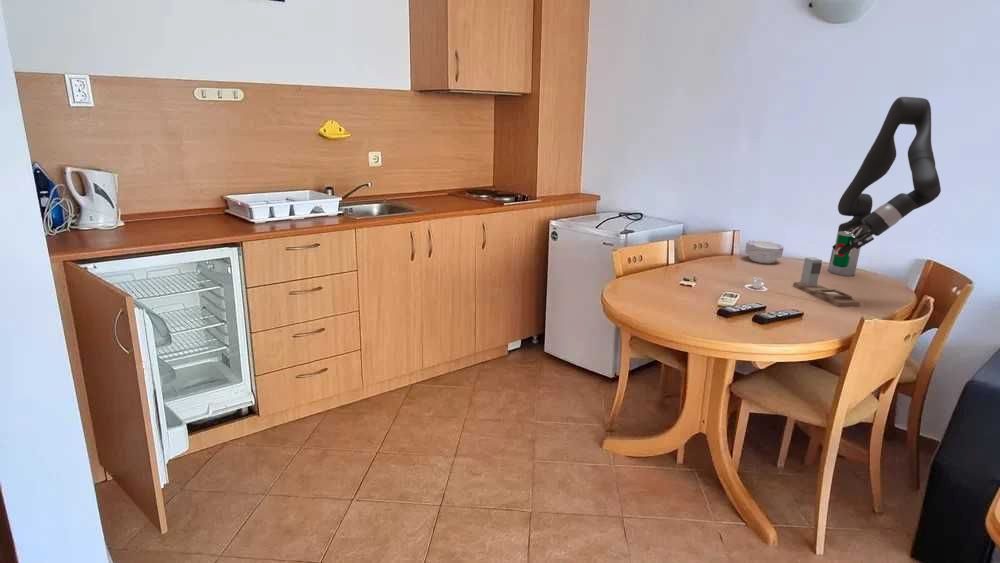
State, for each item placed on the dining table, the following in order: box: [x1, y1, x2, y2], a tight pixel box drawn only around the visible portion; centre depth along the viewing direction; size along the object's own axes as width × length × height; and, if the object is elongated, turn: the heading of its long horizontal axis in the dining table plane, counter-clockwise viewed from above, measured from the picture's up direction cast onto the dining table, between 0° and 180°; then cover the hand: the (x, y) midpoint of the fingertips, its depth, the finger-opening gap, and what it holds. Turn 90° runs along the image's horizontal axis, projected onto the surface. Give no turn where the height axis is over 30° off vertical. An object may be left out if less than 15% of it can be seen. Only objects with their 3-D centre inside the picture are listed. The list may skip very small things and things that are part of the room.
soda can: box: [832, 231, 854, 267], centre depth 207 cm, size 5×5×12 cm
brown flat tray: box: [792, 281, 861, 308], centre depth 216 cm, size 24×8×2 cm, turn 11°
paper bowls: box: [744, 239, 784, 264], centre depth 263 cm, size 15×15×8 cm
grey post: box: [799, 256, 823, 286], centre depth 223 cm, size 5×4×10 cm
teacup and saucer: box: [744, 277, 768, 292], centre depth 222 cm, size 9×8×4 cm
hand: (837, 251), depth 208 cm, fingers closed on soda can, 5 cm apart
